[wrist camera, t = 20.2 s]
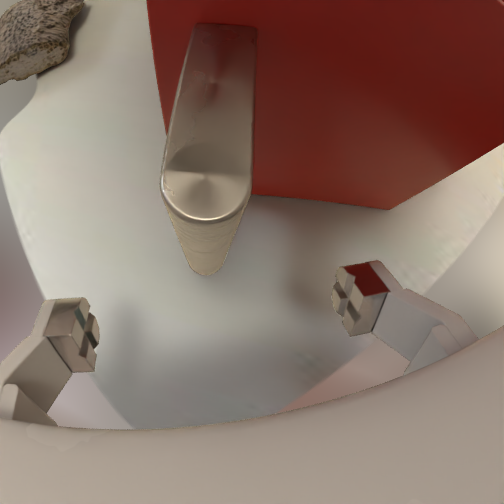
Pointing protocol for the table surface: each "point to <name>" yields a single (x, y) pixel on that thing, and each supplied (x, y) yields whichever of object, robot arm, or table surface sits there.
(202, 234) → the door
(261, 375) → the table surface
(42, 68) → the rock
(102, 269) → the table surface
